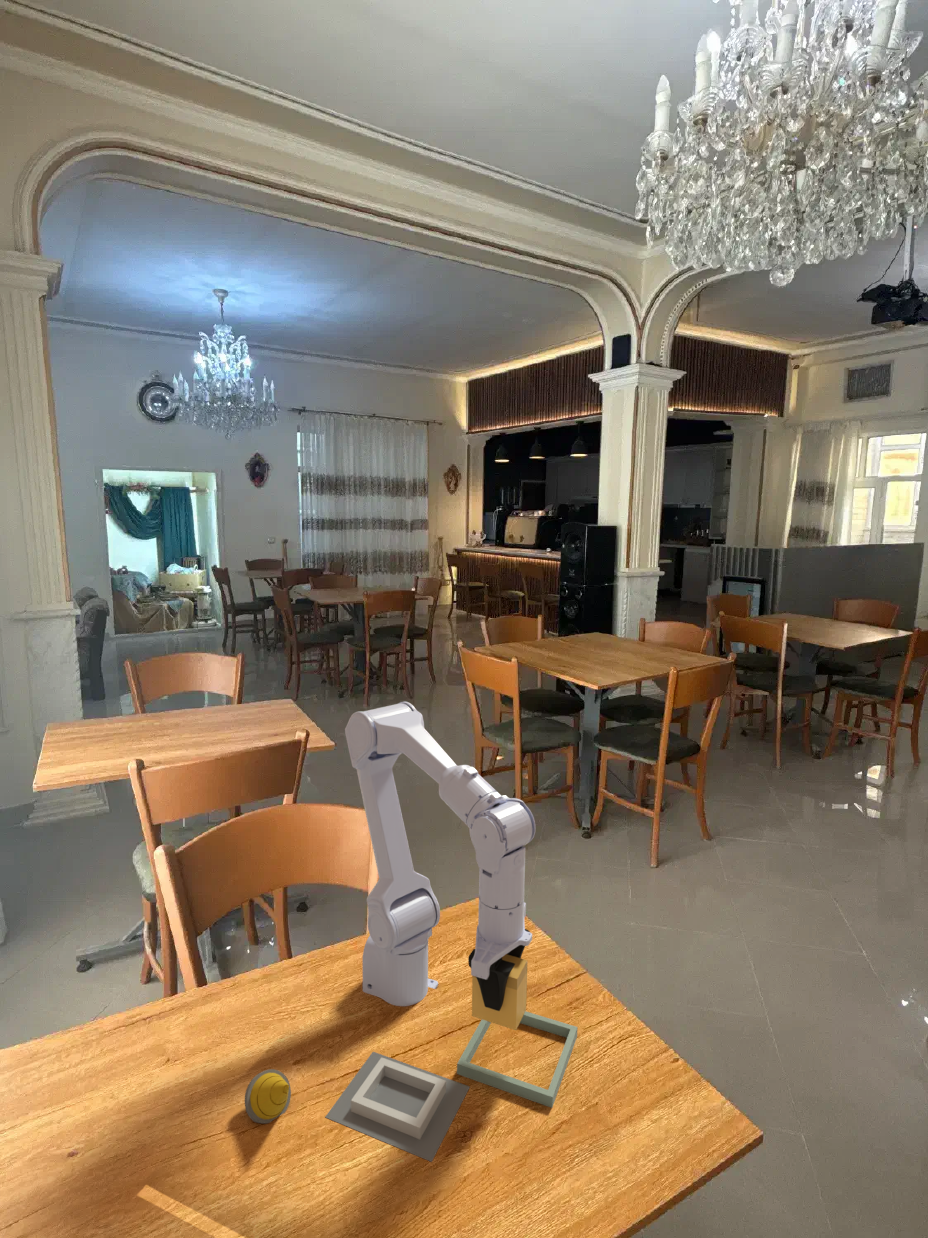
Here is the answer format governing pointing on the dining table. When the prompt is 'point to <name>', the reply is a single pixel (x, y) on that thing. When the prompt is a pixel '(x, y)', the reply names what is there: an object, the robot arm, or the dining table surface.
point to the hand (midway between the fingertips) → (499, 995)
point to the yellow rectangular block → (505, 997)
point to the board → (400, 1105)
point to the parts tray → (511, 1083)
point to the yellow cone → (267, 1096)
